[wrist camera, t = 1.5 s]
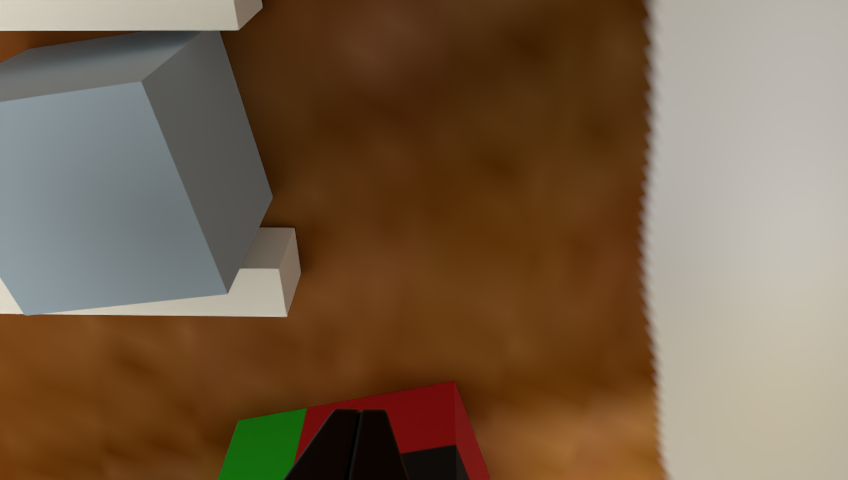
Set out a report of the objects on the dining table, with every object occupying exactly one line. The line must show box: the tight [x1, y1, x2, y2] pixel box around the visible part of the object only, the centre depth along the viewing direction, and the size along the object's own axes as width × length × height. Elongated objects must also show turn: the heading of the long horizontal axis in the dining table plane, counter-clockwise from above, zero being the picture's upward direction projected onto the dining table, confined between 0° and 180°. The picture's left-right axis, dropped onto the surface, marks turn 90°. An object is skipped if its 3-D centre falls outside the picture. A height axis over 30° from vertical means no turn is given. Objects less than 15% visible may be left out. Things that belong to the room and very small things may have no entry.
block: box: [0, 30, 273, 316], centre depth 18 cm, size 6×6×6 cm
